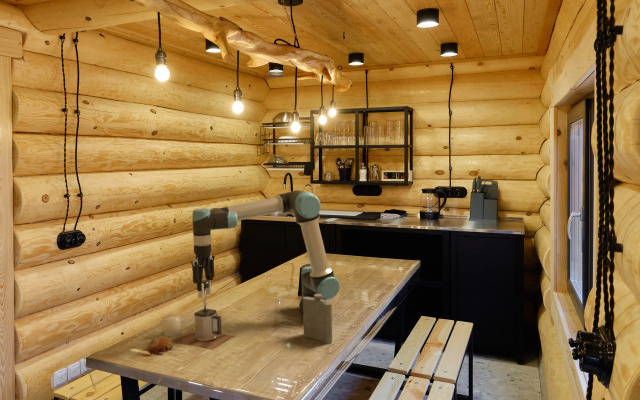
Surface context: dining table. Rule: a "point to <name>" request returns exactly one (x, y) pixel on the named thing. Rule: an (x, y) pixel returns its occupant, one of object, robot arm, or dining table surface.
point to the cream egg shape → (171, 325)
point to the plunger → (206, 285)
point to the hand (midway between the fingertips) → (204, 295)
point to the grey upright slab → (317, 318)
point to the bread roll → (160, 345)
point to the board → (190, 339)
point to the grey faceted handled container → (207, 325)
